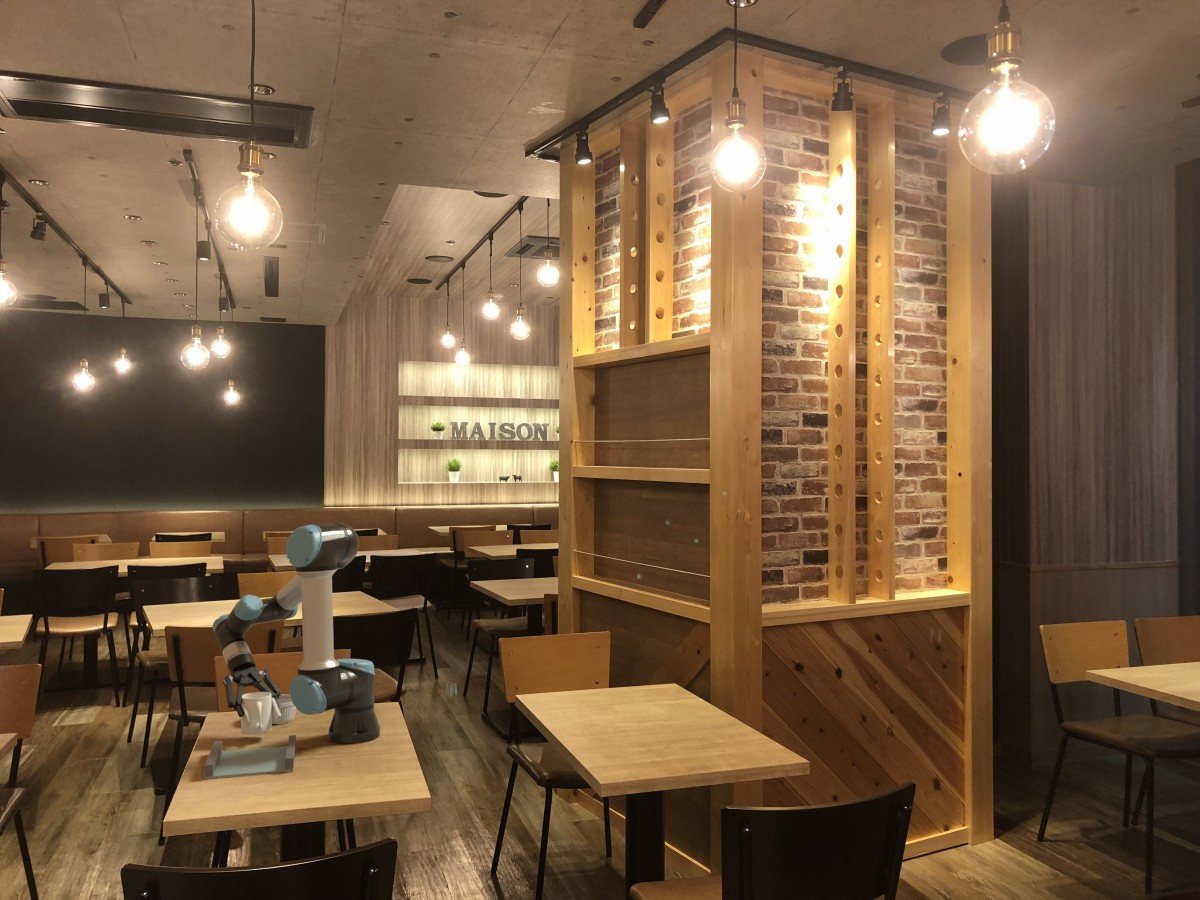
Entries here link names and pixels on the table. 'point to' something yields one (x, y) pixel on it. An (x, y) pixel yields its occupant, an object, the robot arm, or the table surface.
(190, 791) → the table surface
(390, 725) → the table surface
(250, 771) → the tray with side rails
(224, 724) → the table surface
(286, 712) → the ramekin
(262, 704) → the mug
